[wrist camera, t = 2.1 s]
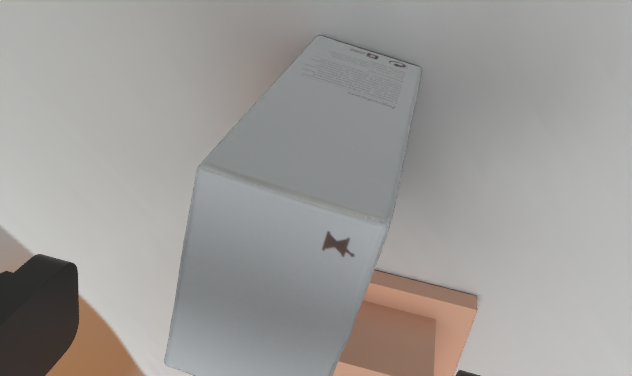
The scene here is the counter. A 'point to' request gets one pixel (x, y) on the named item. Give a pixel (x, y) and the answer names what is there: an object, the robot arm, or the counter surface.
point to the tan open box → (407, 329)
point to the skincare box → (293, 217)
